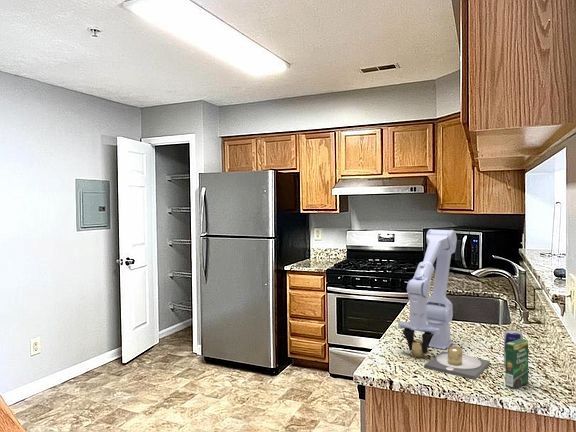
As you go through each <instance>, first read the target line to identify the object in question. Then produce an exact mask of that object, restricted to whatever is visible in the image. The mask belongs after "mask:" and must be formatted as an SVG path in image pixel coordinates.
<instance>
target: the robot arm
mask: <svg viewBox="0 0 576 432" xmlns="http://www.w3.org/2000/svg"><path fill="white" fill-rule="evenodd" d="M425 236H426V241H425V242H426V245H427V247H426V251H425V254H424V258H423V261H421V262H419V263H418V264H417V268H416V269H415V272H414V276H413V278H411V279H409V280H408V282H407V286H406V291H407V296H408V300H409V322H406V321H405V322H404V321H399V322H397V328H398V329H404V330H403V331H402V333H403V335H404V337H405V340H406V342H407V345H408V350H409V351H411V352H412V340H415V332H421V333H422V334H421V338H422V339H421V340H423V353H424V354H425V355H426V354H427V353H428V350H429V347H430V348H435V349H440V350H446V349H448V347H450V346H451V345H453V341H451V325H450V322H452V320H453V316H454V310H453V308H454V307H453V306H454V305H453V303H452V302H451V300H450V299H449V298H447V290H448V283H449V273H450V265H451V259H452V255H453V254H454V253H456V249H457V242H458V238H457V234H456V232H455V230H454V229H433V228H431V229H428V231H426V235H425ZM435 262H436V263H435ZM434 264H435V266H434ZM434 273H435V274H434ZM433 275H434V278H433V279H434V280H433V286H432V287H433V288H432V295H430V296H429V294H430V292H431V284H432V283H431V279H432V277H433ZM428 296H429V297H428ZM427 297H428V298H427Z"/></svg>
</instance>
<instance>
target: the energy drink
mask: <svg viewBox="0 0 576 432" xmlns="http://www.w3.org/2000/svg"><path fill="white" fill-rule="evenodd" d="M503 334H504V338H503V339H504V340H503V341H504V342H503V343H504V344H503V348H504V349H503V366H504V368H505V369H506V343H509V342H512V341H515V340H517V339H520V338H521V339H524V338H523V332H522V331H520V330H516V329H506V330H504V333H503Z"/></svg>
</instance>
